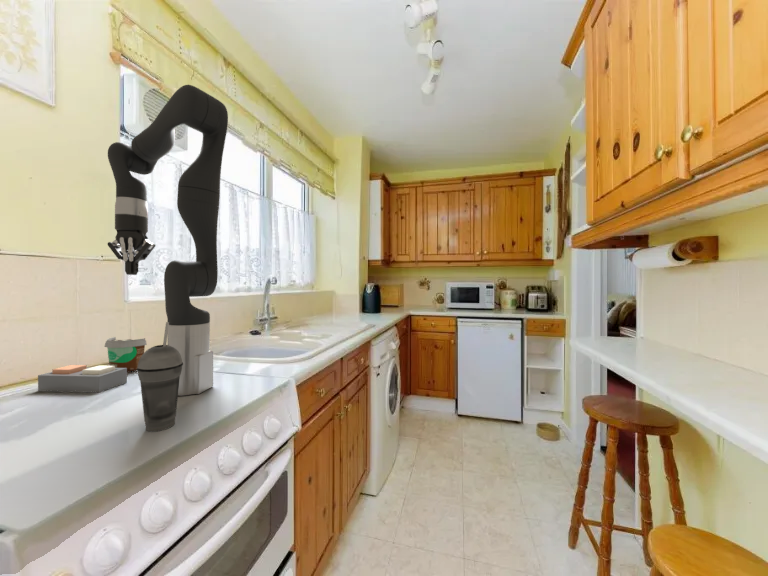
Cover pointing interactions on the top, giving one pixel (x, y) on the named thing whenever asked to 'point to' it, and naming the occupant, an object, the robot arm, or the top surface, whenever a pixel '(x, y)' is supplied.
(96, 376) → the key console
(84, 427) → the top surface
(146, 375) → the beverage cup
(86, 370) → the cream key
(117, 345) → the food container
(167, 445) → the top surface
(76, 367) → the terracotta key
